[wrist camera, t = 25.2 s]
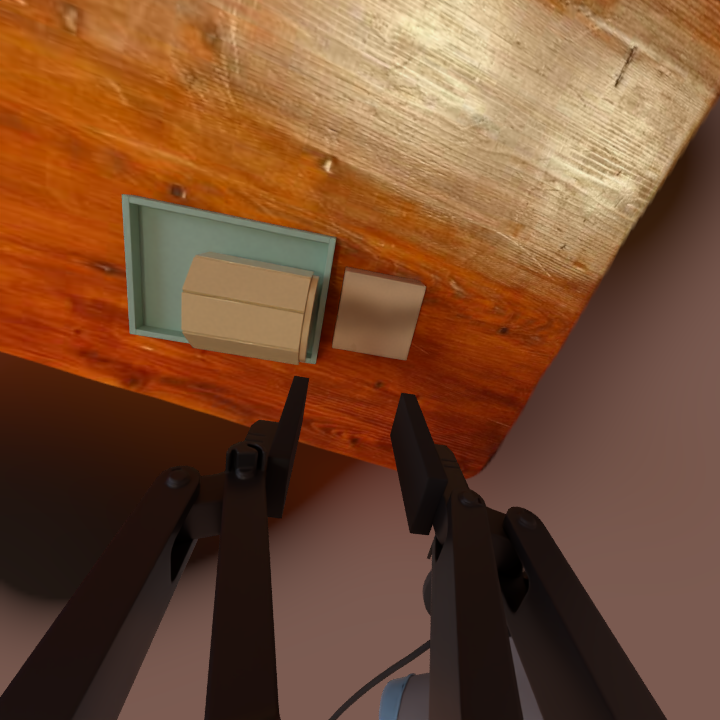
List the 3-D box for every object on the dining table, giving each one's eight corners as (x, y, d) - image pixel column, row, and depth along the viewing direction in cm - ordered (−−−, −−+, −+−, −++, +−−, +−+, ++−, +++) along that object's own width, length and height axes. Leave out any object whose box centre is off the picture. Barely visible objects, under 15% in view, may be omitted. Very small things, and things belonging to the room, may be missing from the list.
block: (402, 350, 40) (406, 360, 37) (332, 338, 39) (331, 348, 36) (420, 281, 37) (426, 286, 34) (345, 266, 36) (345, 270, 33)
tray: (336, 237, 34) (336, 238, 33) (316, 357, 39) (315, 364, 38) (134, 195, 32) (121, 194, 31) (140, 327, 37) (129, 333, 35)
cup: (315, 284, 27) (181, 258, 26) (301, 378, 31) (181, 358, 29) (322, 268, 35) (218, 248, 34) (310, 344, 38) (215, 328, 37)
